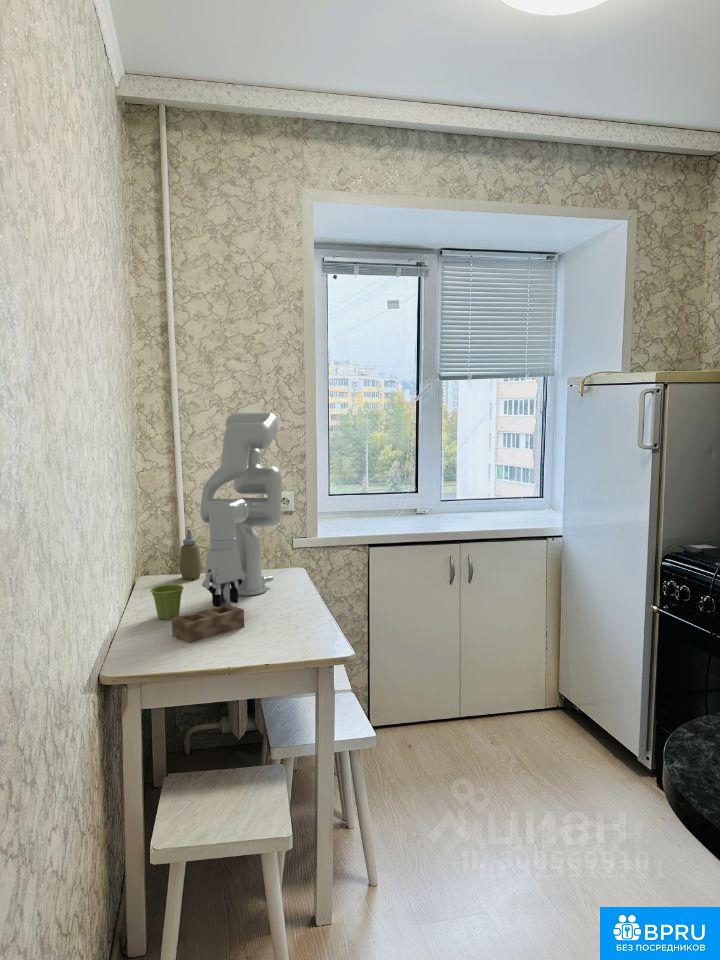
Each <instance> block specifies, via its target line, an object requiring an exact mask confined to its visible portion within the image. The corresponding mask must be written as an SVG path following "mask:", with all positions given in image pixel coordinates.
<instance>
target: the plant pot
mask: <svg viewBox="0 0 720 960" xmlns="http://www.w3.org/2000/svg"><path fill="white" fill-rule="evenodd" d="M183 591H184V586H183V585H180V584H164V585H157V586H154V587H152V588H150V592H151V594H152V597H153V598H154V599H153V600H154V603H155V609H156V615H157V618H158V619H159V620H166V621H167V620H172V618H176V617H180V613H181V612H180V609H181V599H182V594H183Z"/></svg>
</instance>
